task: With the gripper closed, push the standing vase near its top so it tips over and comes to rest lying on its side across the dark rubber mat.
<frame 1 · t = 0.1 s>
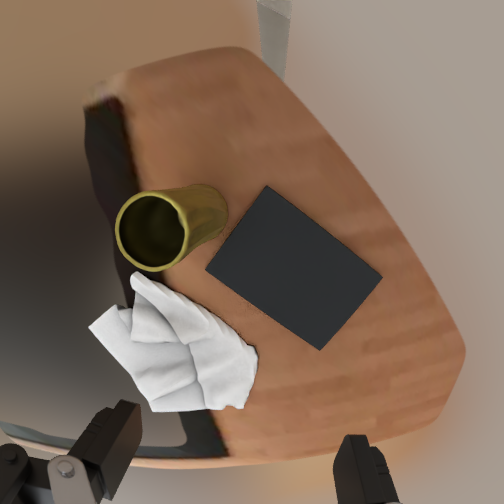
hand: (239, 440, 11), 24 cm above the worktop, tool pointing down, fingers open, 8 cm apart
vase: (199, 213, 34), on the worktop
cloth: (168, 349, 37), on the worktop
mat: (295, 272, 34), on the worktop
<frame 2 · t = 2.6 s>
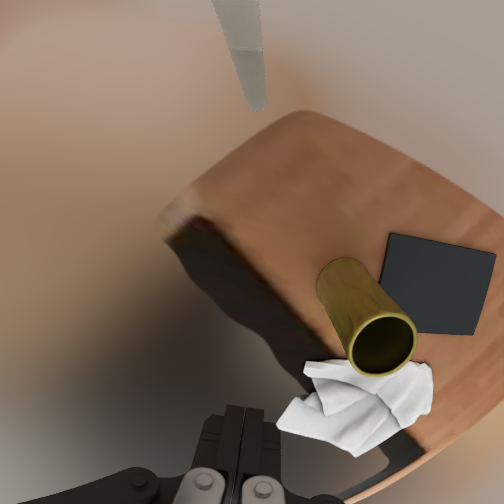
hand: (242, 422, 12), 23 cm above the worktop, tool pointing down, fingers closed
vase: (343, 284, 34), on the worktop
cloth: (356, 404, 37), on the worktop
mat: (437, 289, 33), on the worktop
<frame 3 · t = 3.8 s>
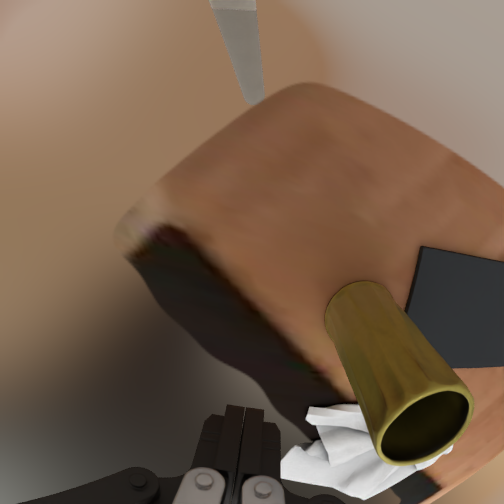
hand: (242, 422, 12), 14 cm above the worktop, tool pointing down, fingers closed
vase: (359, 314, 25), on the worktop
cloth: (368, 449, 28), on the worktop
mat: (473, 315, 25), on the worktop
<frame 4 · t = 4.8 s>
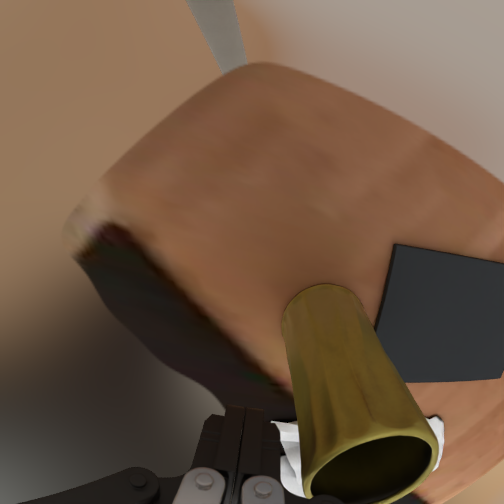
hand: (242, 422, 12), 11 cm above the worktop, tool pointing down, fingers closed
vase: (323, 322, 23), on the worktop, touching gripper
cloth: (342, 466, 26), on the worktop
mat: (460, 322, 22), on the worktop
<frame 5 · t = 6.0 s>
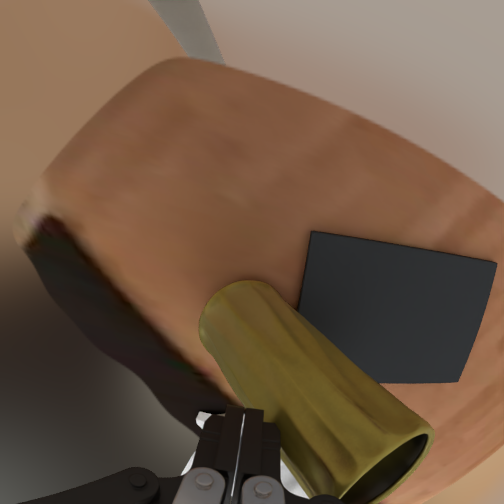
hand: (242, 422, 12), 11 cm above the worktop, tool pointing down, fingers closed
vase: (241, 320, 21), point 1 cm above the worktop
cloth: (282, 465, 26), on the worktop
mat: (399, 318, 22), on the worktop
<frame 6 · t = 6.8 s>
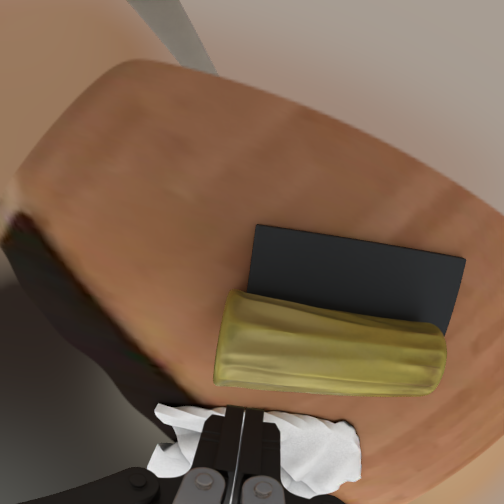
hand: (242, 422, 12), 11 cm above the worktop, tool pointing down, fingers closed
vase: (218, 336, 19), point 4 cm above the worktop, touching mat
cloth: (244, 462, 26), on the worktop
mat: (355, 316, 22), on the worktop
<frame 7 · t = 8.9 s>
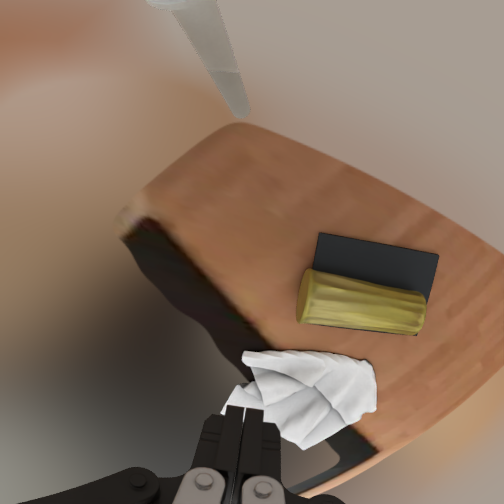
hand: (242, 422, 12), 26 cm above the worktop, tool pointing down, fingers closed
vase: (300, 295, 34), point 3 cm above the worktop, touching mat
cloth: (297, 396, 41), on the worktop
mat: (373, 287, 37), on the worktop
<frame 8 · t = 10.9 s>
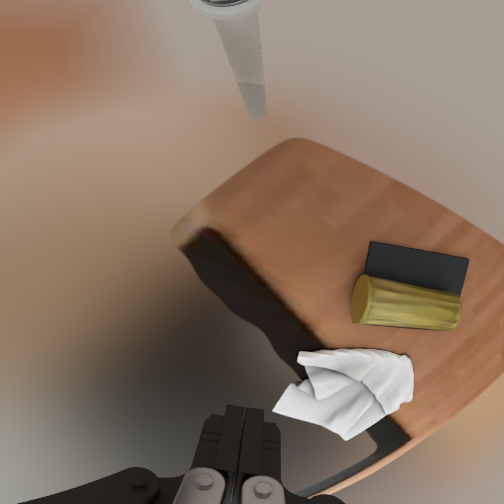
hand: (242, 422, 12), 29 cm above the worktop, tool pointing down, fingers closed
vase: (357, 299, 37), point 3 cm above the worktop, touching mat
cloth: (344, 390, 43), on the worktop
mat: (414, 289, 40), on the worktop
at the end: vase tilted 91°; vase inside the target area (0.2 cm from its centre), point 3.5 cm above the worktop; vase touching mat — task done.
